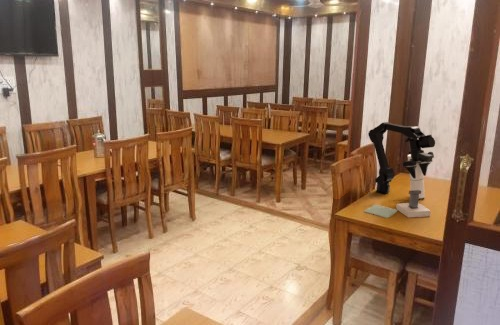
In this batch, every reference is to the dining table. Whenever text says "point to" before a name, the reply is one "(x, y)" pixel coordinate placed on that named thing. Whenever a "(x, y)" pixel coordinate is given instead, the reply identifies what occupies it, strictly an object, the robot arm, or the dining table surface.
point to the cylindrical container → (417, 180)
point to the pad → (381, 211)
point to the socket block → (413, 210)
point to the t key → (414, 198)
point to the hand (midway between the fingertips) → (419, 177)
